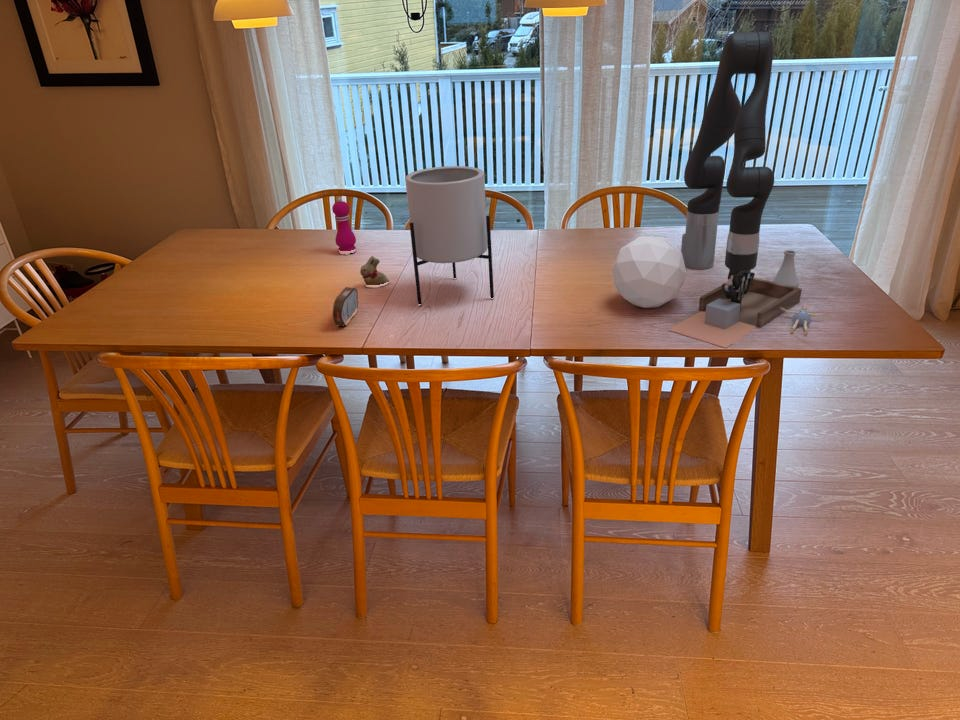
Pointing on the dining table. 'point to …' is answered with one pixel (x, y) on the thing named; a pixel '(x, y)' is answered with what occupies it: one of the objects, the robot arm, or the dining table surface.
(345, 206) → the pepper mill
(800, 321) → the fairy figurine
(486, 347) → the dining table surface
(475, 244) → the plant pot with stand
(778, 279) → the flask
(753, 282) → the walnut cubby
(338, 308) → the tin
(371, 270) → the chocolate bunny
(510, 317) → the dining table surface
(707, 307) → the slate block
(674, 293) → the geometric orb
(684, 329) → the terracotta mat
